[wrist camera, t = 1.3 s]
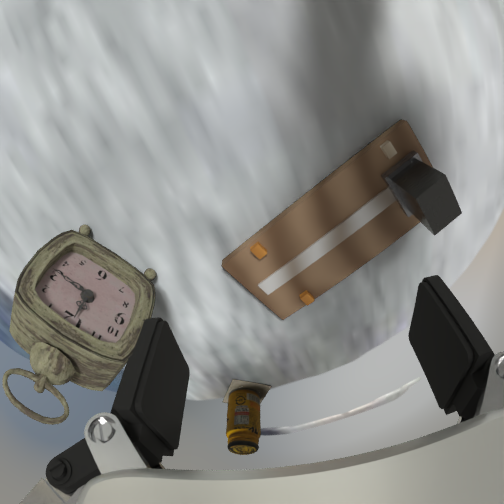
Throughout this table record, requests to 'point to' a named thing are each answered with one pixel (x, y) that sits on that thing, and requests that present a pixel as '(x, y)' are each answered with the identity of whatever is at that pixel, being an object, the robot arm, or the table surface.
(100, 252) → the tabletop clock
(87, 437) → the robot arm
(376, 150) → the fader board
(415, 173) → the fader slider
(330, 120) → the table surface
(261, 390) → the condiment
